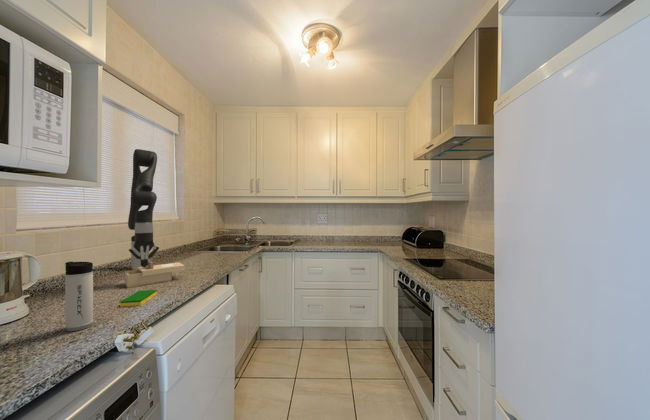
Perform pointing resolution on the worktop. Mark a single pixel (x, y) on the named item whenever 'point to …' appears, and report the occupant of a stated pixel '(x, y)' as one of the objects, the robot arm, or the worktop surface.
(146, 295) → the dish sponge
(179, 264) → the lid
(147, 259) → the robot arm
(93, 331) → the worktop surface
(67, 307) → the travel mug
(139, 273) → the box
